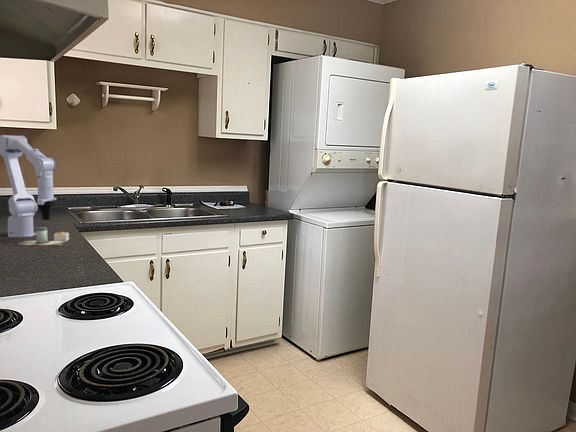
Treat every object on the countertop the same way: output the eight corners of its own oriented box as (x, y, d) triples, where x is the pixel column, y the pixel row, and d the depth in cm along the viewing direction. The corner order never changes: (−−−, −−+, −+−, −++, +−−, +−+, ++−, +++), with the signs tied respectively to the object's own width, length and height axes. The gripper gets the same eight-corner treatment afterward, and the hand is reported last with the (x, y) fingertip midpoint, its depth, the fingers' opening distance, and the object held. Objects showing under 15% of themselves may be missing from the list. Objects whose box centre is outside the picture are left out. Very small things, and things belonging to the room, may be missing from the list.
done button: (57, 240, 202) (56, 233, 202) (59, 238, 205) (58, 231, 205) (64, 240, 203) (63, 233, 202) (66, 238, 206) (65, 231, 205)
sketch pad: (17, 245, 192) (17, 244, 191) (25, 241, 199) (24, 240, 199) (60, 245, 194) (60, 244, 194) (66, 241, 202) (65, 240, 202)
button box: (54, 241, 201) (53, 234, 201) (57, 239, 206) (57, 232, 206) (65, 241, 202) (65, 234, 202) (68, 239, 207) (68, 232, 206)
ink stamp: (35, 243, 194) (34, 228, 193) (38, 241, 198) (38, 226, 197) (45, 243, 195) (45, 228, 194) (49, 241, 199) (48, 227, 198)
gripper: (50, 189, 193) (51, 222, 195) (60, 185, 207) (61, 217, 209) (31, 188, 192) (32, 222, 194) (43, 185, 206) (44, 216, 208)
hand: (46, 219), depth 201 cm, fingers closed
